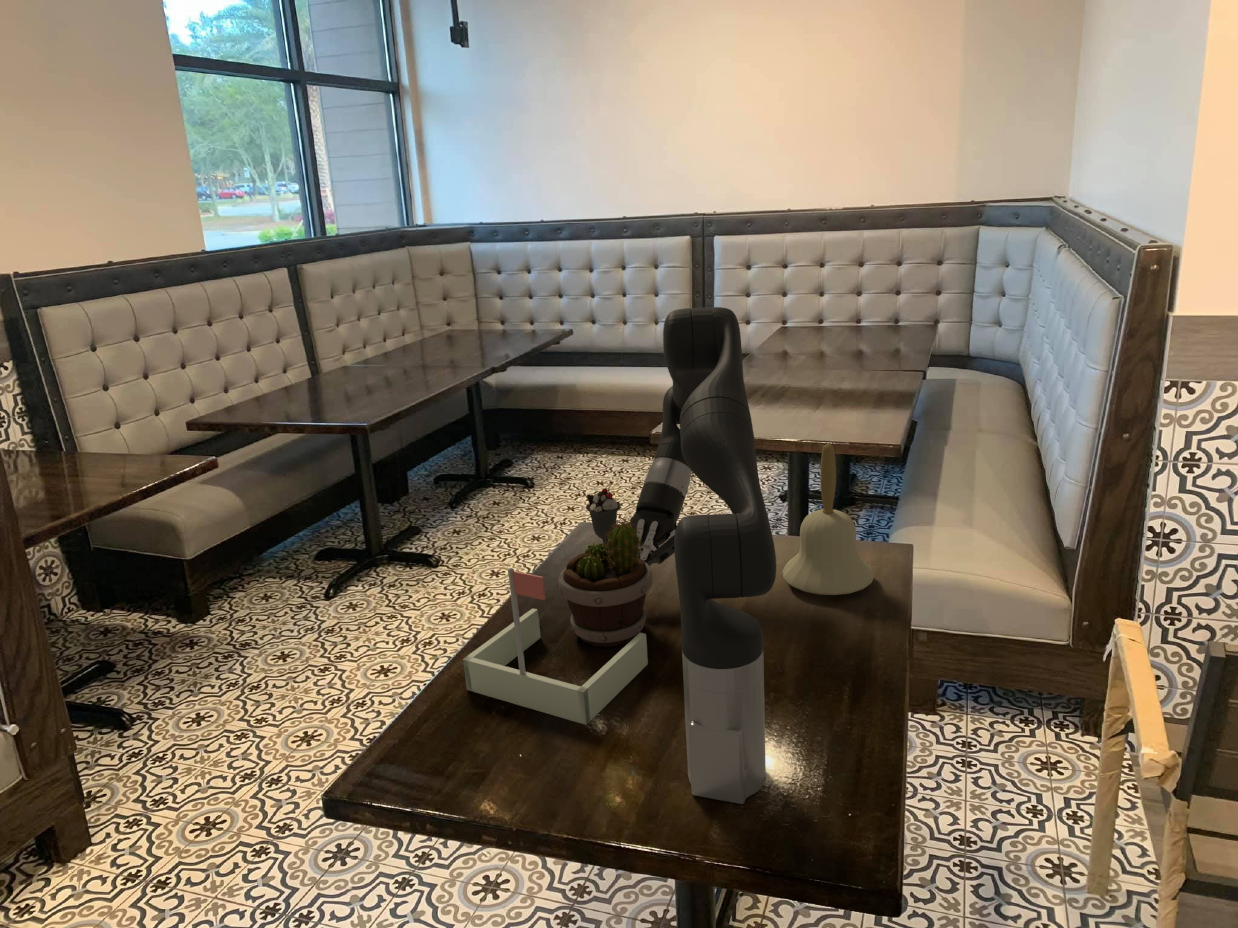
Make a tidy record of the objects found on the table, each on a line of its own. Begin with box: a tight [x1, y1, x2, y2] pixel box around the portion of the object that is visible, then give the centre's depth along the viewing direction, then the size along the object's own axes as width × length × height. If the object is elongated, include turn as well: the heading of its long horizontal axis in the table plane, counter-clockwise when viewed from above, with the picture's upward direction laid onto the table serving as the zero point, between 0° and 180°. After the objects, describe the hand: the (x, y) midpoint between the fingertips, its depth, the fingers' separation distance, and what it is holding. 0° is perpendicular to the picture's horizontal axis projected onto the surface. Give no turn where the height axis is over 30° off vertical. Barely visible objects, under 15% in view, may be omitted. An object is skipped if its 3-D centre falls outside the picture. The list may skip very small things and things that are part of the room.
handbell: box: [781, 443, 875, 596], centre depth 151 cm, size 15×15×25 cm
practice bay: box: [462, 567, 649, 726], centre depth 128 cm, size 17×20×21 cm
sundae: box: [585, 481, 622, 551], centre depth 170 cm, size 7×7×15 cm
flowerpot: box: [558, 515, 653, 648], centre depth 140 cm, size 14×15×20 cm
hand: (634, 583), depth 148 cm, fingers closed
